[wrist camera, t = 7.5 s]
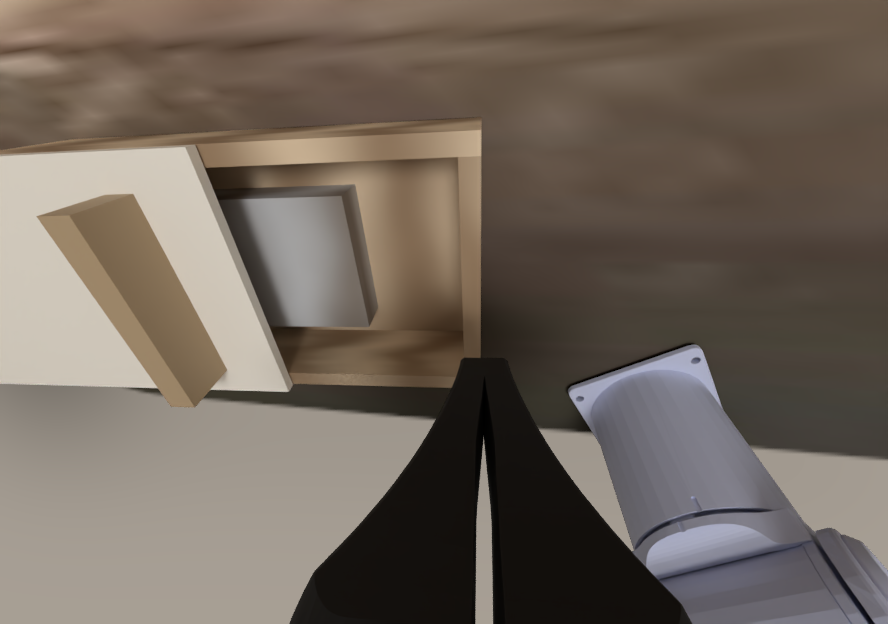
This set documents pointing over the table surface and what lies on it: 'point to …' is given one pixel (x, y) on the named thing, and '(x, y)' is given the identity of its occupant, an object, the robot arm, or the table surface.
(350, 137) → the mailer box
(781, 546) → the robot arm
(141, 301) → the mailer lid
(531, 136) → the table surface
